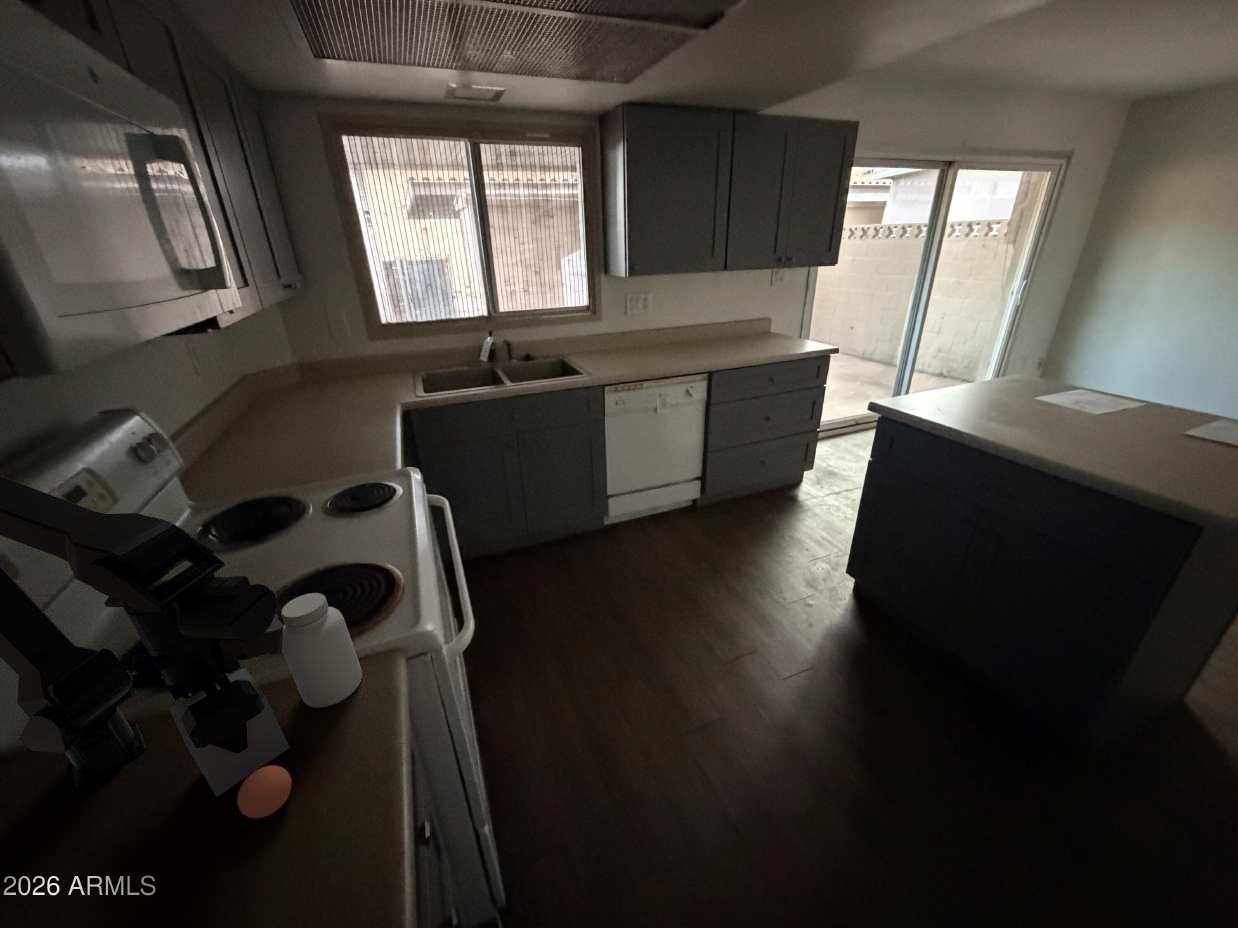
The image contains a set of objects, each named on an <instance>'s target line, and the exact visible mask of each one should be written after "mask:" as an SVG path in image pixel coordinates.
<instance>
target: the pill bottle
mask: <svg viewBox="0 0 1238 928" xmlns="http://www.w3.org/2000/svg"><path fill="white" fill-rule="evenodd" d="M280 613H281V618H282V621H283V625H284V628H283V641H282V650H281V652H282V655H283V656H284V659H285V661H286V663H287V666H288V669H289V671H290V673H291V676H292V679H293V681H294V683H295V685H296V688H297V690H298V693H299V694H300V697H301V699H302V701H303V703H304V704H305V705H307V706H309V707H310V708H319V709H320V708H326V707H329V706H333V705H336V704H337V703H340V702H342V701H343V700H345V699H346V698H348V697H349V696H351V694H353V693H354V692H355V691H356V690H357V688H358V687H359V685H360V684H361V682H362V678H363V671H362V668H361V664H360V662H359V661H360V660H359V659H358V656H357V655H358V654H357V652H356V650H355V647H354V644H353V641H352V638H351V636H350V633H349V629H348V626H347V624H346V621H345V618H344V615H343V614H342V612H340V610H339V609H338V608H335V607H333V606H329V604H328V600H327V598H326V596H325V595H324V594H322V593H319V592H312V593H311V592H310V593H306V594H303V595H299V596H297V597H295V598H294V599H292V600H290V601H289V602H287V603H286V604H285V605H284V606H283V607H282V609H281V612H280Z"/></svg>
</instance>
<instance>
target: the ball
mask: <svg viewBox="0 0 1238 928" xmlns="http://www.w3.org/2000/svg"><path fill="white" fill-rule="evenodd" d="M291 789H292V776H291V775H290V772H288V770H287V769H285V768H284V767H282V766H279V765H267V766H265V765H264V766H262V767H261V768H259V769H258V770H256V771H255V772H253V773H252V774H250V775H249V776H247V777H246V778H245V780H244V781H243V782H242V784H241V785H240V788H239V790H238V793H237V798H236V799H237V801H236V802H237V806H238V809H239V811H240V812H241V813H242V815H244V816H245V817H247V818H251V819H262V818H264V817H268V816H270V815H271V814H274V813H275V812H276V811H277V810H280V808H281V807H283V805H284V804H285V802H286V801H287V799H288V798H289V795H290V793H291Z"/></svg>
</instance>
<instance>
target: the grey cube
mask: <svg viewBox="0 0 1238 928" xmlns="http://www.w3.org/2000/svg"><path fill="white" fill-rule="evenodd" d="M227 677H228V679H229V680H230V682H233V681H235V680H249V681H250V683H251V684H252V685H253V687H254V688H255V690H256V691H257V692H258V694H259V696H260V698H261V700H262V702H263V704H264V706H265V707H264V709H263V711H262V712H261V713H260V714H258V715H257V716H255V717H253V718H252V719H250V720H249V721H247V739H248V747H247V748H246V749H245V750H243V751H242V752H240V753H238V754H236V753H234V752H231V751H228V750H225V749H222V748H220V747H216V746H213V745H210V744H209V745H208V746H206V747H204V748H197V749H196V748H195V746H194V744H193V742H192V741H191V739H190V737H189V735H188V733H187V731H186V729H185V727H184V725H183V723H182V721H181V717H182V716H183V714H184V712H185V711H186V709H187V707H188V706H190V705H192V704H193V703H195V702H197V701H199V700H201V699H202V698H204V697H206V696H207V695H206V693H205V692H204V690H202V691H200V692H199V693H197V694H195V695H193V696H191V697H189V698H188V699H184V700H182V701H180V702H178V703H177V704H175V705H173V706H171V707H169V708H168V709H169V712H170V714H171V717H172V718H173V720H174V723H175V724H176V727H177V729H178V731H179V734H180V735H181V737H182V739H183V741H184V745H186V747H187V749H188V751H189V753H190V754H191V756H192V757H193V760H194V761H195V763H196V764H197V767H198V768H199V770H200V771H201V773H202V775H203V777H204V778H205V780H206V782H207V784H208V785H209V787H210V789H211V791H212V792H213V794H214V795H215V797H216V798H218V797H219V796H220V795H222V794H224V793H225V792H227V791H228V790H229V789H231V788H233V787H234V786H235V785H237V784H239V783H240V782H241V781H243V780H244V779H247V778H248V777H249V776H250V775H251V774H252V773H253V772H255V771H256V770H258V769H260V768H262V767H264V766H265V765H266V764H268V763H270V762H271V761H272V760H274V759H275V758H277V757H278V756H279V755H282V753H284V752H286V751H287V750H289V749H290V745H289V743H288V741H287V739H286V737H285V735H284V732H283V731H282V728H281V726H280V723H279V722H278V720H277V717H276V715H275V714H274V711H273V709H272V707H271V705H270V703H269V701H268V699H267V696H266V694H265V693H264V692H263V691H262V690H263V689H261V688H260V687H259V685H258V683H257V682H256V681H255V680H254V678H253V676H252V675H251V674H250V672H249V671H248V670H247V668H246V667H243V668H241V669H238V670H236V672H235V671H234V672H233V673H231V674H229V675H227ZM215 685H216V687H217V689H218V690H219V689H220V687H219V685H218V684H217V683H215Z"/></svg>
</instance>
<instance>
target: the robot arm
mask: <svg viewBox="0 0 1238 928" xmlns="http://www.w3.org/2000/svg"><path fill="white" fill-rule="evenodd" d="M0 537H4V538H6V539H9V540H11V541H14V542H16V543H19V544H22V545H25V546H28V547H31V548H34V549H36V550H39V551H42V552H44V553H47V554H49V555H52V556H54V557H57V558H58V559H61V560H64V561H65V562H68V565H69V567H70V570H71V572H72V574H73V576H74V578H75V580H77V581H80V582H81V583H83V584H86V585H87V586H90V587H91V588H92V589H93V590H95V591H97V592H99V593H101V594H102V595H104V596H107V598H106V600H104V603H103V604H104V606H105V607H107V608H123V610H124V612H125V614H126V616H127V617H128V619H129V621H130V623H131V624H132V626H133V628H134V630H135V631H136V634H137V635H138V637H139V639H140V640H141V642H142V643H143V645H144V648H145V649H146V650H147V652H148V654H149V656H150V659H151V660H152V662H153V665H154V667H155V669H156V671H157V673H158V674H159V677H161V679H162V680H164V682H165V684H166V686H167V689H168V690H169V692H170V694H171V696H172V698H173V699H174V701H176V700H178V699H181V698H183V699H184V700H186V699H188V698H189V697H191V696H193V695H195V694H197V693H199V692H200V691H202V690H204V692H205V693H206V695H207V696H206V697H204V698H202V699H201V700H199V701H197V702H195V703H193V704H192V705H190V706H188V707H187V709H186V711H185V712H184V714H183V716H182V717H181V721H182V723H183V725H184V727H185V729H186V731H187V733H188V735H189V737H190V739H191V741H192V742H193V744H194V746H195V748H196V749H197V748H204V747H206V746H208V745H209V744H210V745H213V746H216V747H220V748H222V749H225V750H228V751H231V752H234V753H236V754H238V753H240V752H242V751H243V750H245V749H246V748H247V747H248V739H247V721H249V720H250V719H252V718H253V717H255V716H257V715H258V714H260V713H261V712H262V711H263V709H264V707H265V706H264V704H263V702H262V700H261V698H260V696H259V694H258V692H257V691H256V690H255V688H254V687H253V685H252V684H251V683H250V681H249V680H235V681H233V682H230V680H229V679H228V675H227V674H229V675H231V674H233V673H235V671H238V670H240V668H241V669H242V666H241V664H240V662H239V661H247V660H249V659H252V658H253V659H254V658H257V657H261V656H265V655H268V654H270V655H274V654H277V653H279V652H282V641H283V628H284V623H282V621H281V620H280V619H279V618H278V617H277V615H276V612H277V611H276V610H277V599H276V594H275V593H274V590H272V589H270V588H269V587H268V586H266V585H264V584H261V583H250V581H249V578H248V577H247V576H246V575H233V576H230V577H229V576H228V577H226V576H224V577H223V576H221V577H220V576H218V577H217V576H216V575H215V574H216V573H217V572H219V570H221V569H223V568H224V567H225V565H226V564H225V562H224V561H223V560H221V559H220V558H219V557H218V556H217V555H215V554H214V553H215V551H214V550H213V549H211V548H209V547H208V546H207V545H204V544H203V543H202V542H199V541H198V540H197V539H195V538H194V537H192V535H190V534H189V533H187V532H186V531H185V530H184V529H182V528H181V527H180V526H178V525H176V524H175V523H173V522H171V521H169V520H165V519H162V518H159V517H154V516H150V515H145V514H141V513H137V512H131V513H130V512H129V513H124V512H122V513H104V512H99V511H96V510H92V509H90V508H86V507H85V506H82V505H79V504H76V503H74V502H71V501H69V500H66V499H63V498H61V497H58V496H55V495H52V494H50V493H47V492H45V491H41V490H39V489H36V488H34V487H31V486H29V485H26V484H23V483H21V482H17V481H15V480H14V479H13V480H12V479H10V478H7V477H6V476H2V475H0ZM186 562H189V563H191V565H189V566H188V567H186V568H185V569H183V570H182V571H180V572H179V573H177V574H176V575H174V576H173V577H172V578H164V577H165V576H168V575H169V574H171V573H172V572H173V571H175V570H177V569H178V568H179V567H181V566H182V565H184V564H185V563H186ZM0 658H1V659H2V660H3V661H4V662H5V663H6V664H7V665H8V666H9V667H10V668H11V669H12V670H13V671H14V673H16V674H17V676H18V686H17V687H18V688H17V704H18V706H19V707H20V709H21V710H22V711H23V712H24V714H26V716H27V717H28V720H27V722H26V724H25V726H24V728H23V730H22V731H21V734H20V736H19V737H18V740H19V741H20V743H22V744H23V745H25V746H26V747H27V748H28V749H29V750H30V751H33V752H46V753H48V752H49V753H63V754H65V755H66V757H67V758H68V759H69V760H70V766H71V771H72V775H73V780H74V784H75V785H74V786H76V787H77V788H81V787H83V786H85V785H87V784H88V783H90V782H92V781H93V780H95V779H97V778H98V777H100V776H102V775H104V774H106V773H107V772H109V771H111V770H113V769H115V768H116V767H117V766H120V765H122V764H123V763H125V762H126V761H129V760H130V759H132V758H134V757H135V756H137V755H139V754H141V753H142V752H144V751H145V749H146V747H147V746H146V745H145V742H144V740H143V737H142V734H141V732H140V729H139V726H138V724H137V723H136V722H131V723H128V721H127V719H126V718H125V716H124V714H123V713H122V711H121V710H120V709H119V707H121V705H122V704H124V703H125V702H126V701H127V700H128V699H130V698H132V697H133V696H134V695H135V688H134V687H135V686H134V682H133V680H134V679H133V676H132V672H131V669H130V667H128V666H127V665H125V664H124V663H123V662H121V661H120V660H119V659H118V658H117V657H116V655H115V654H114V652H113V651H112V650H110V649H107V648H101V649H99V650H98V649H93V648H88V647H84V646H78V645H76V644H75V643H74V642H73V641H71V639H70V638H69V637H68V636H67V635H66V634H65V633H64V632H63V631H62V630H61V629H60V627H59V626H57V624H55V622H54V621H53V620H52V619H51V618H50V617H49V616H48V614H46V613H45V612H44V611H43V609H42V608H41V607H40V606H39V605H38V604H37V603H36V602H35V601H34V600H33V599H32V597H30V596H29V594H28V593H27V592H26V591H25V590H24V589H23V588H22V587H21V586H20V585H19V584H18V582H16V581H15V580H14V579H13V578H12V576H10V575H9V573H8V572H7V571H6V570H5V569H4V567H2V566H1V565H0ZM215 683H217V684H218V685H219V687H220V689H219V690H218V689H217V687H216V685H215Z"/></svg>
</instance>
